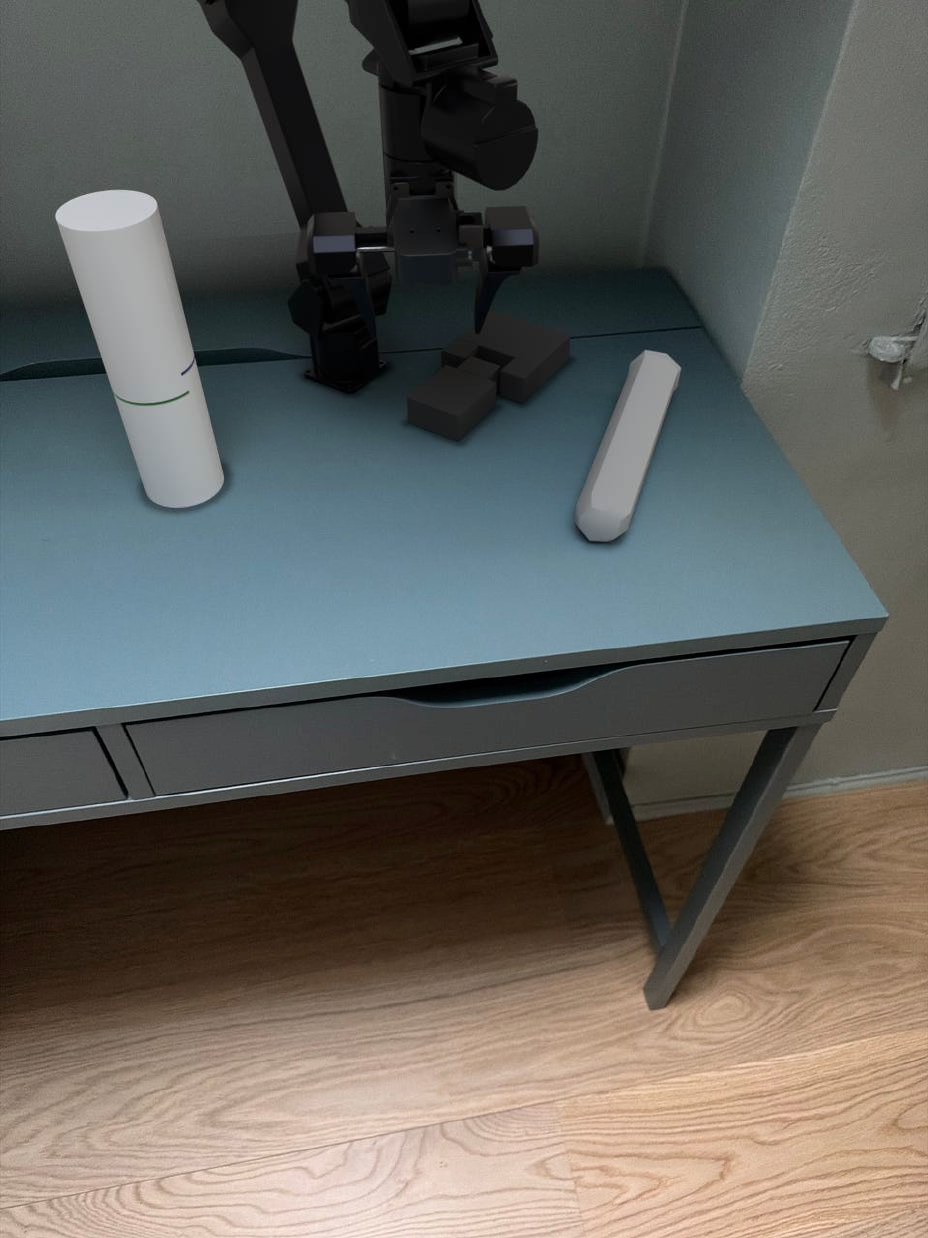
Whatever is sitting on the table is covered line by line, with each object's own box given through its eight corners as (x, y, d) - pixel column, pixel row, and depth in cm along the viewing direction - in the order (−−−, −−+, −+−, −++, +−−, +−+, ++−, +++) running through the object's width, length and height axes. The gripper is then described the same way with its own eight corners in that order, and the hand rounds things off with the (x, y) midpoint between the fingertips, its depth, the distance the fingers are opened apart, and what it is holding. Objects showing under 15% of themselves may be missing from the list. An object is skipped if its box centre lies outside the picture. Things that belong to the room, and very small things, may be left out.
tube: (612, 563, 78) (665, 405, 94) (639, 523, 74) (690, 365, 90) (556, 536, 78) (619, 382, 94) (581, 494, 73) (642, 341, 89)
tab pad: (408, 422, 90) (406, 397, 88) (460, 377, 96) (460, 352, 93) (458, 442, 88) (458, 416, 86) (509, 394, 93) (510, 369, 91)
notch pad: (441, 375, 96) (440, 350, 94) (490, 334, 102) (490, 309, 99) (522, 404, 92) (524, 378, 90) (568, 360, 98) (571, 334, 96)
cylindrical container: (238, 468, 85) (176, 197, 67) (199, 514, 80) (121, 237, 62) (172, 453, 87) (93, 184, 68) (130, 498, 82) (34, 222, 64)
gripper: (292, 195, 63) (318, 388, 74) (555, 186, 64) (542, 378, 76) (298, 137, 71) (321, 320, 82) (534, 129, 72) (525, 312, 83)
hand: (425, 333), depth 80 cm, fingers open, 9 cm apart
